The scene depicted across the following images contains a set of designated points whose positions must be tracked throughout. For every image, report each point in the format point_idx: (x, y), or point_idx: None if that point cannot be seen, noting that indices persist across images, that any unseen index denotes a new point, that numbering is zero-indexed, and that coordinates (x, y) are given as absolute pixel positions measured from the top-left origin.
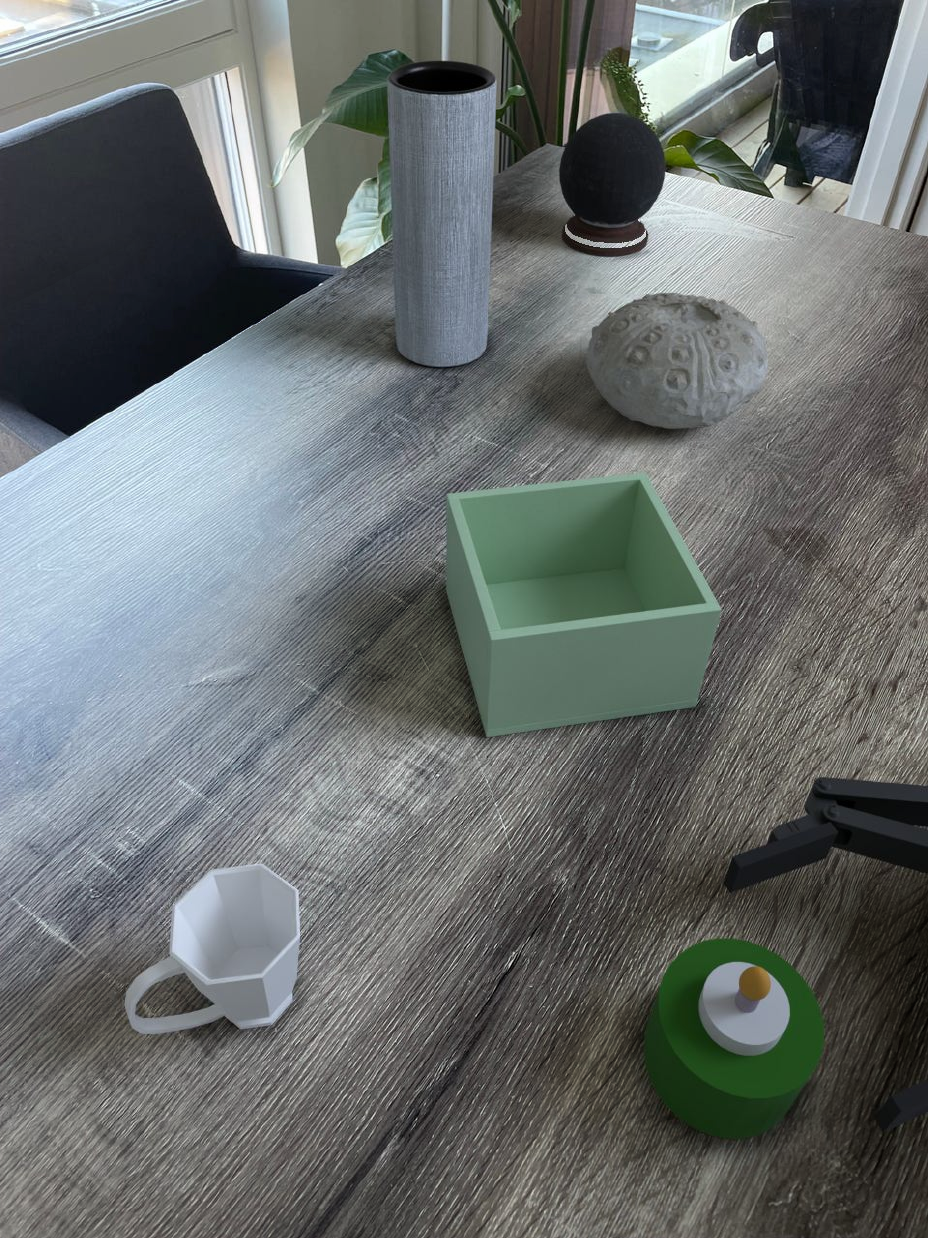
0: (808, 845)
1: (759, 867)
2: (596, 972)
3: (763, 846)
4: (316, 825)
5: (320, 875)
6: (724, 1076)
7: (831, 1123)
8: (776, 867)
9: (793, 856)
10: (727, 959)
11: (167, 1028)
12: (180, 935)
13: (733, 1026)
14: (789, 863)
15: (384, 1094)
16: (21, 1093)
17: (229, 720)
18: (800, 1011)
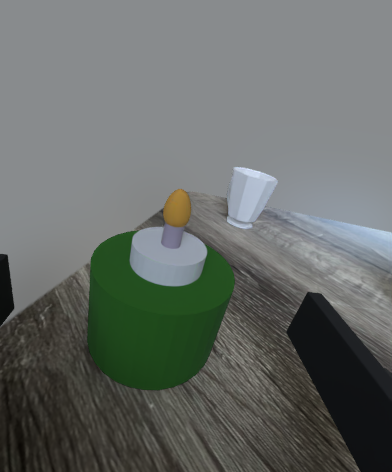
0: (377, 393)
1: (317, 329)
2: (232, 299)
3: (347, 325)
4: (311, 251)
5: (287, 245)
6: (130, 237)
7: (51, 379)
8: (326, 366)
9: (350, 382)
10: (214, 277)
11: (228, 201)
12: (251, 174)
13: (157, 232)
14: (339, 390)
15: (194, 229)
16: (218, 197)
17: (357, 249)
18: (146, 294)
